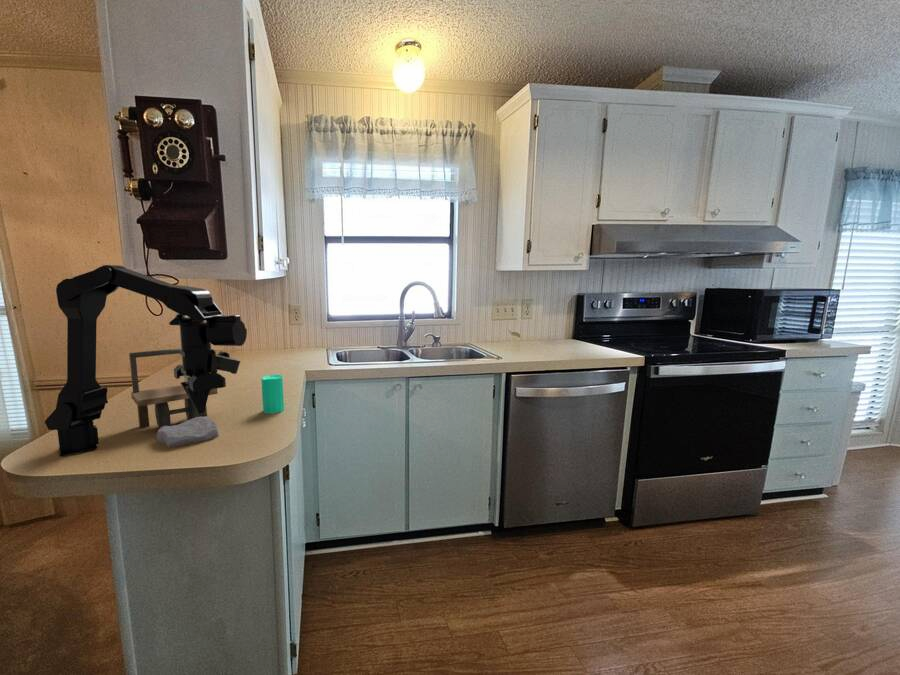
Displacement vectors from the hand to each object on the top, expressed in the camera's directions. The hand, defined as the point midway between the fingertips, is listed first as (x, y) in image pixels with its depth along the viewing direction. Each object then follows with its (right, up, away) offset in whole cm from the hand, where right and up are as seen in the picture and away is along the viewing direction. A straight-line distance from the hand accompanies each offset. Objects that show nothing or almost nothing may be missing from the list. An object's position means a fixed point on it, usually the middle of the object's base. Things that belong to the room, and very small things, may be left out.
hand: (201, 413), depth 97 cm
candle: (+3, -5, +33) cm, 34 cm away
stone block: (-9, -9, +10) cm, 16 cm away
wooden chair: (-18, -7, +21) cm, 29 cm away
